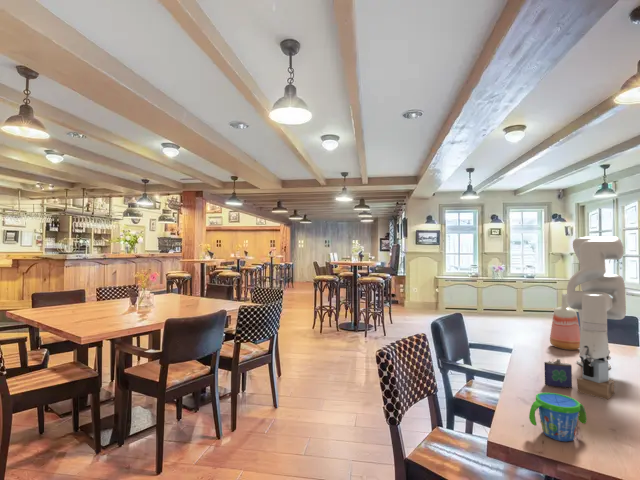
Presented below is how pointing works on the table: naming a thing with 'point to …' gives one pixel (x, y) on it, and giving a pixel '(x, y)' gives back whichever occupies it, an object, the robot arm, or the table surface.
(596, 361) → the pale blue cube
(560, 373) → the clover trinket box
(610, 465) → the table surface
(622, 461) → the table surface
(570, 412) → the snack cup
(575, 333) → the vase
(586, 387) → the block
